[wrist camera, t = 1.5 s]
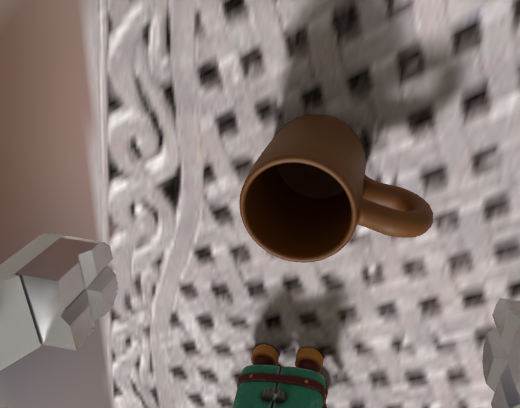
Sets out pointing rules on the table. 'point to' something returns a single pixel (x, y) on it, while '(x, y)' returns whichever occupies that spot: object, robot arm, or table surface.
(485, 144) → the table surface
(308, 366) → the binoculars
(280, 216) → the mug
